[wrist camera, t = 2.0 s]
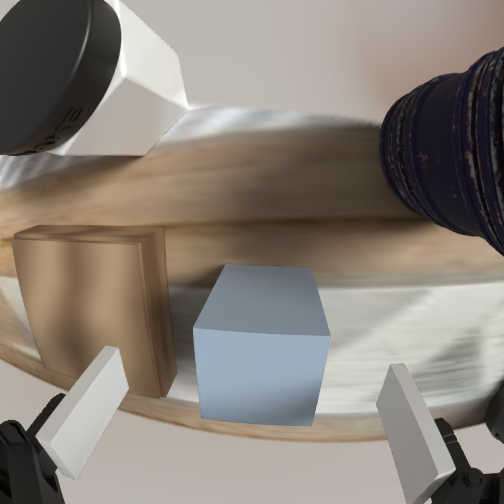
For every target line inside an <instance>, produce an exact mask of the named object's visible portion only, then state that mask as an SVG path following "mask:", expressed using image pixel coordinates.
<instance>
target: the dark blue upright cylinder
mask: <svg viewBox="0 0 504 504" xmlns="http://www.w3.org/2000/svg"><path fill="white" fill-rule="evenodd" d="M379 157H380V162H381V167H382V170H383V173H384V176H385V179H386V181H387V183H388V185H389V187H390V189H391V190H392V192H393V193H394V195H395V196H396V197H397V198H398V199H399V201H400V202H401V203H402V204H403V205H405V206H406V207H407V208H408V209H409V210H411V211H413V212H414V213H416V214H418V215H420V216H423V217H425V218H426V219H428V220H430V221H431V222H433V223H435V224H437V225H440V226H442V227H444V228H447V229H449V230H451V231H453V232H455V233H458V234H462V235H467V236H479V237H481V238H483V239H485V240H486V241H487V242H488V243H489V245H491V246H492V247H493V248H494V249H496V251H497V252H499V253H500V254H501V255H502V256H504V47H502V48H500V49H499V50H498V51H492V52H490V53H487V54H485V55H484V56H482V57H481V58H480V59H478V60H477V61H476V62H475V63H474V64H473V65H471V67H470V68H469V69H468V71H466V72H464V73H451V74H444V75H439V76H437V77H435V78H433V79H431V80H430V81H428V82H426V83H424V84H422V85H420V86H418V87H417V88H415V89H414V90H412V91H411V92H410V93H408V94H406V95H404V96H403V97H401V98H400V99H399V100H397V101H396V102H395V103H394V104H393V105H392V106H391V108H390V109H389V111H388V112H387V114H386V116H385V118H384V121H383V123H382V126H381V131H380V135H379Z"/></svg>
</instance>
